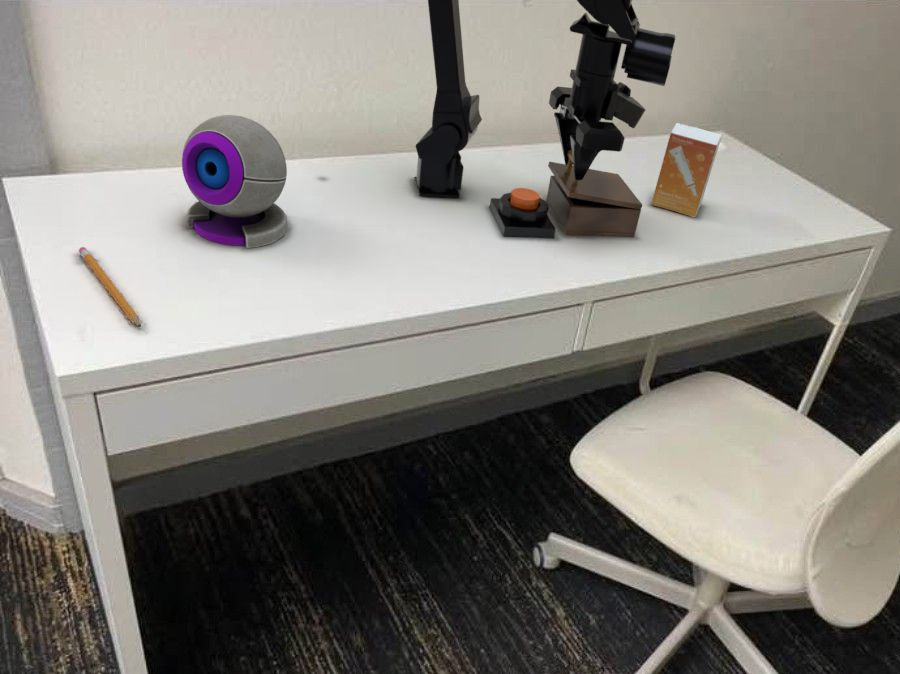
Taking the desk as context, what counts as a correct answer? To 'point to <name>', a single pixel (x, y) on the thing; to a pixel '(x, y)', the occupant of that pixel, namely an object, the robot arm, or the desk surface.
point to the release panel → (521, 219)
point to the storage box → (590, 215)
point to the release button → (524, 198)
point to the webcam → (235, 182)
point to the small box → (686, 169)
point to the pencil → (110, 286)
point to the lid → (594, 185)
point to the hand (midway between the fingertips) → (573, 172)
